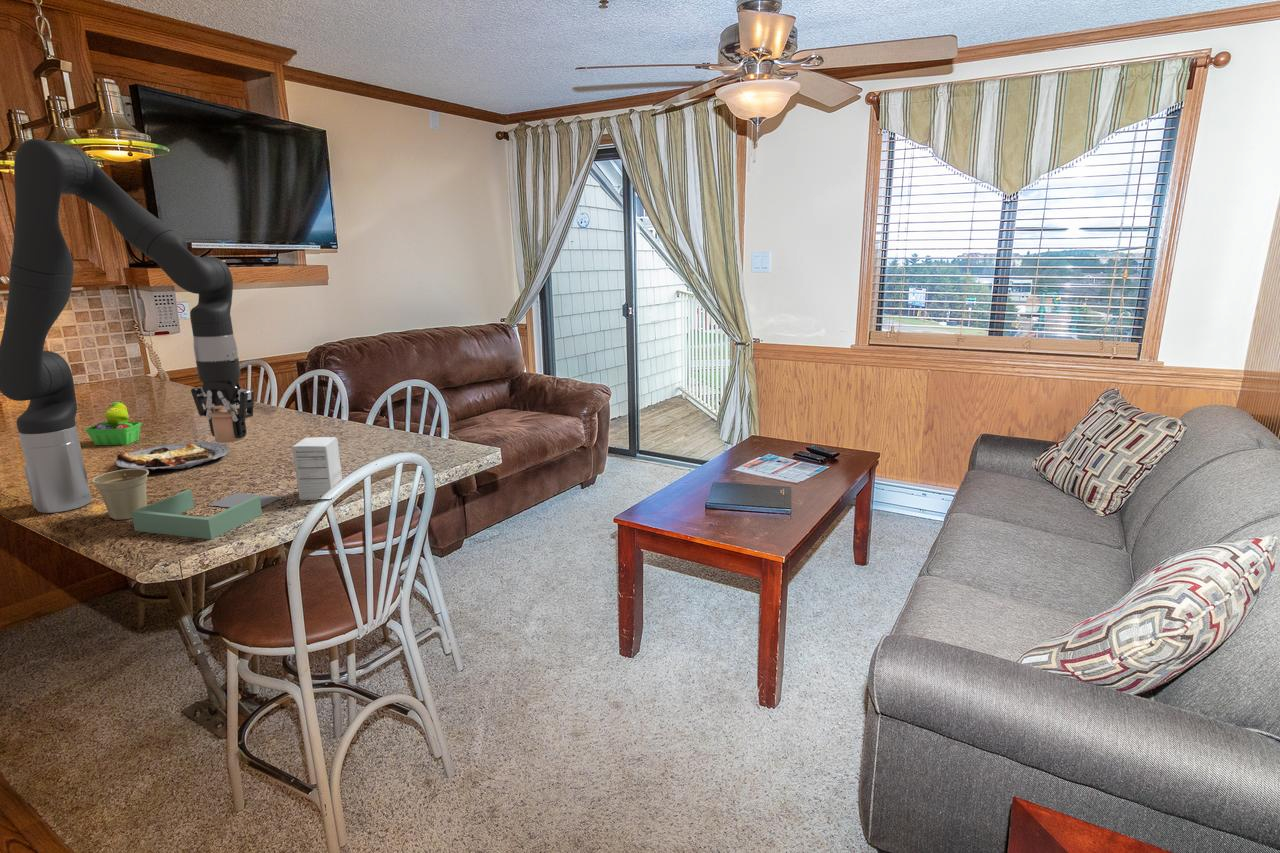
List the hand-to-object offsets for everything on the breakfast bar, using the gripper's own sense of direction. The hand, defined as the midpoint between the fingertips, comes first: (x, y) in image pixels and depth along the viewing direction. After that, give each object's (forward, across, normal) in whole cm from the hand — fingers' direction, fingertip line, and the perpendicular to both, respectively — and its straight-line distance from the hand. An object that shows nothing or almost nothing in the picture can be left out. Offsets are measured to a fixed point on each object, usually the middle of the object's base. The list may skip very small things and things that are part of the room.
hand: (229, 436), depth 143 cm
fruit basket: (+16, -73, +32) cm, 81 cm away
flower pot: (+16, -18, -10) cm, 26 cm away
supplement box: (+16, +12, +10) cm, 23 cm away
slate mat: (+16, 0, +2) cm, 16 cm away
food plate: (+16, -42, +22) cm, 50 cm away
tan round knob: (+1, 0, 0) cm, 1 cm away
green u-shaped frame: (+16, 0, -10) cm, 19 cm away
